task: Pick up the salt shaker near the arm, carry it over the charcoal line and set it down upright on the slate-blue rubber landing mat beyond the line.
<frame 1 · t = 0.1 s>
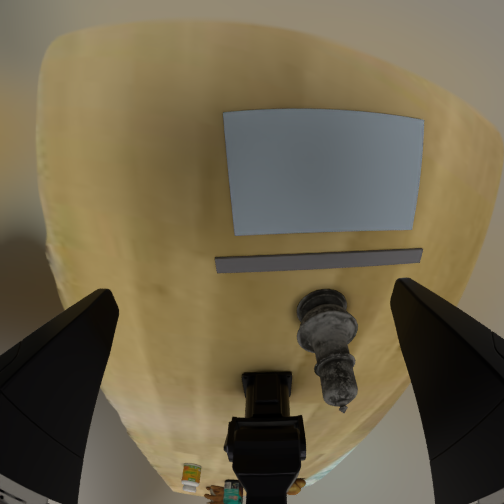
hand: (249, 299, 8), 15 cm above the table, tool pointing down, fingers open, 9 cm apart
stuffed squirrel: (220, 487, 87), on the table
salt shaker: (321, 307, 27), on the table
beverage can: (234, 480, 75), on the table
supplement bottle: (192, 464, 63), on the table
bread roll: (287, 479, 73), on the table
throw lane: (331, 207, 22), on the table
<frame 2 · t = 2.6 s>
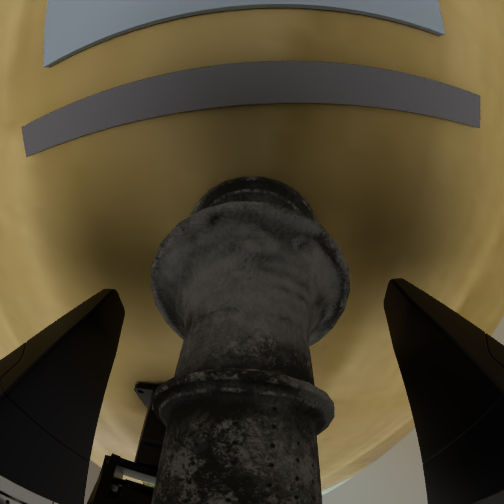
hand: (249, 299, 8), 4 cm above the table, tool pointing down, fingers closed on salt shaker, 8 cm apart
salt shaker: (252, 239, 11), on the table, touching gripper
supplement bottle: (153, 482, 47), on the table
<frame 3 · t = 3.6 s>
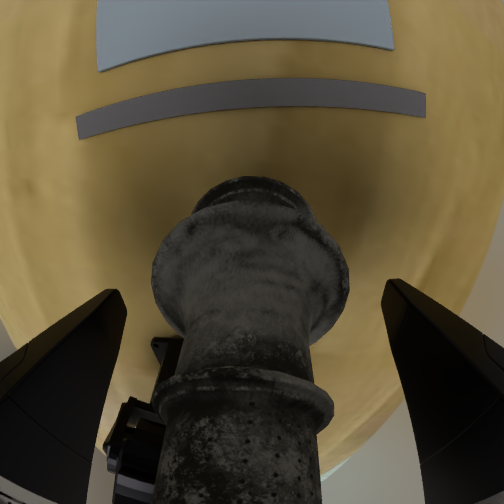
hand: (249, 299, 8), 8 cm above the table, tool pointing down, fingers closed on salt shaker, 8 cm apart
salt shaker: (252, 238, 11), point 4 cm above the table, touching gripper
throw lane: (239, 9, 10), on the table
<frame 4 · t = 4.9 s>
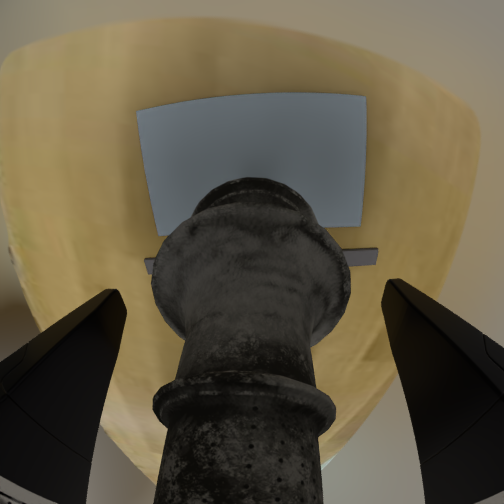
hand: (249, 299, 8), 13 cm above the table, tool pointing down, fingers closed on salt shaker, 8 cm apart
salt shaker: (253, 239, 11), point 9 cm above the table, touching gripper
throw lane: (256, 203, 20), on the table
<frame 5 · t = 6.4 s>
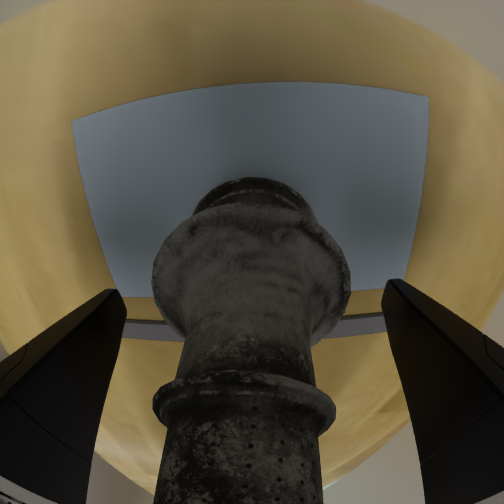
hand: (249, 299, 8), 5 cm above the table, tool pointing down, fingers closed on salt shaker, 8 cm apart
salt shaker: (253, 239, 11), point 2 cm above the table, touching gripper
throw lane: (256, 258, 13), on the table
when the fingers open (5 cm above the table, at t = 7.5 s): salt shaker drops 1 cm, resting on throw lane.
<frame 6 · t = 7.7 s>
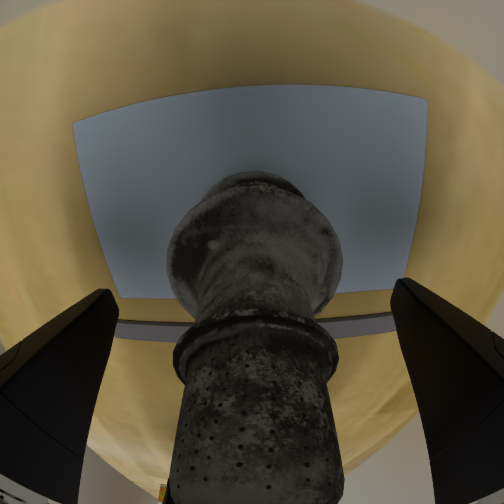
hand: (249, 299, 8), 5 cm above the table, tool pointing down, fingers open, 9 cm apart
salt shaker: (254, 228, 12), resting on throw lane
supplement bottle: (169, 485, 55), on the table
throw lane: (256, 260, 13), on the table
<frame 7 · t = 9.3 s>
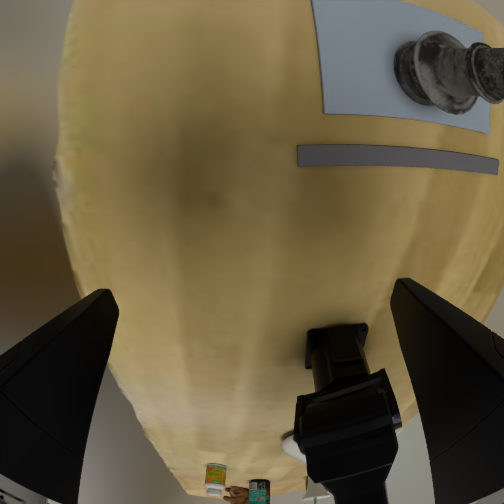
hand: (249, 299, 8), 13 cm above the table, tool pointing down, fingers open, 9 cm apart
flower in vase: (308, 435, 43), on the table
stuffed squirrel: (241, 488, 81), on the table
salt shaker: (421, 73, 14), resting on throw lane
beverage can: (259, 480, 68), on the table
supplement bottle: (216, 464, 57), on the table
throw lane: (421, 95, 15), on the table
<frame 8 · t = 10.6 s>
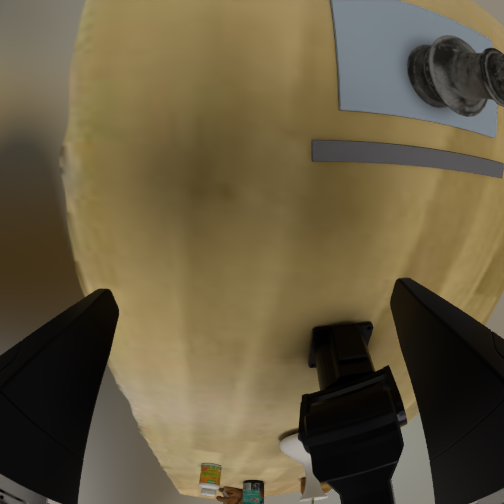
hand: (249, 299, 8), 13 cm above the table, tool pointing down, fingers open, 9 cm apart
flower in vase: (306, 436, 42), on the table
stuffed squirrel: (234, 488, 80), on the table
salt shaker: (433, 76, 14), resting on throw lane
beverage can: (253, 481, 68), on the table
supplement bottle: (211, 464, 56), on the table
bread roll: (317, 476, 66), on the table
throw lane: (432, 97, 15), on the table
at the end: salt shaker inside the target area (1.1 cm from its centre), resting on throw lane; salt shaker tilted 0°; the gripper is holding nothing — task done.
